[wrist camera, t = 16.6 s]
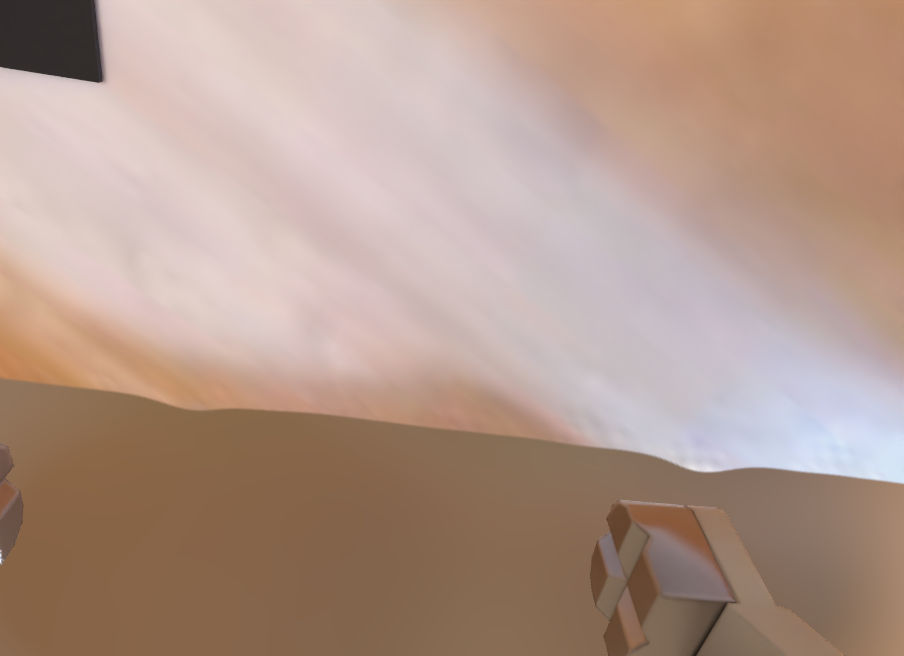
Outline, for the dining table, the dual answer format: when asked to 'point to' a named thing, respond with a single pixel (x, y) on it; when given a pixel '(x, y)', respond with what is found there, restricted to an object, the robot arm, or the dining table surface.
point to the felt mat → (50, 38)
